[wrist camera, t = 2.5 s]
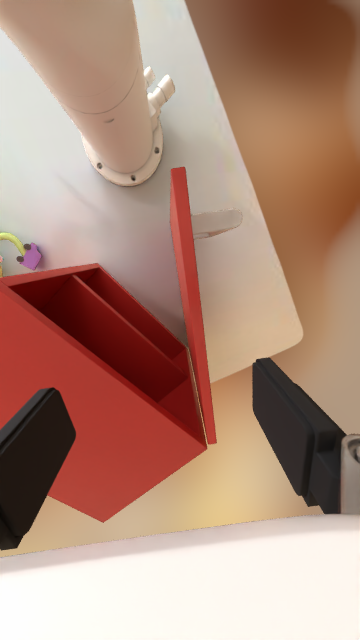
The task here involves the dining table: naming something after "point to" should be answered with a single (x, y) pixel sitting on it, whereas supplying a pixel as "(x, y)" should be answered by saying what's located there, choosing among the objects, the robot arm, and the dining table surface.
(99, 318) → the box
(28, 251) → the figurine
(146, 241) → the dining table surface
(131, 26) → the robot arm
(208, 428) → the fridge door
